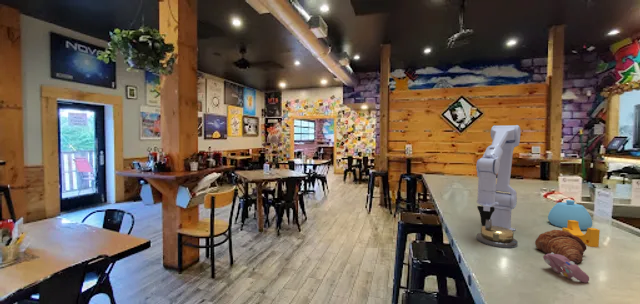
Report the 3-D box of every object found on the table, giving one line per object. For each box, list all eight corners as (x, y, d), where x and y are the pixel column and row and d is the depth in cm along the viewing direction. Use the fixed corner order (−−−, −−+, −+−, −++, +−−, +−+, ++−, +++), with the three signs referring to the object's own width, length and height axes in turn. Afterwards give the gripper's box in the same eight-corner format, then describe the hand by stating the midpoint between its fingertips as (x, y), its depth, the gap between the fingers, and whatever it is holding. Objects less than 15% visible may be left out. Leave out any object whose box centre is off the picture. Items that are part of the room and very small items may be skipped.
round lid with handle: (497, 232, 113) (498, 214, 113) (519, 241, 103) (520, 222, 103) (475, 233, 111) (476, 215, 111) (495, 243, 102) (496, 223, 101)
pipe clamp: (561, 235, 116) (562, 219, 115) (573, 236, 115) (574, 220, 115) (584, 246, 104) (586, 229, 103) (598, 247, 103) (599, 229, 103)
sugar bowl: (587, 224, 131) (588, 199, 130) (596, 233, 118) (598, 206, 117) (545, 219, 139) (546, 195, 138) (549, 227, 126) (551, 201, 125)
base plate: (468, 236, 112) (468, 233, 112) (495, 234, 116) (495, 230, 115) (497, 249, 100) (497, 245, 99) (526, 246, 103) (526, 242, 103)
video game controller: (546, 272, 86) (537, 252, 86) (558, 265, 87) (550, 245, 86) (578, 290, 77) (569, 267, 76) (592, 282, 77) (583, 259, 76)
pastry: (517, 247, 103) (519, 225, 103) (544, 241, 109) (545, 220, 109) (574, 266, 88) (576, 241, 87) (601, 259, 94) (603, 234, 93)
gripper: (500, 194, 99) (498, 233, 100) (497, 187, 112) (496, 222, 113) (477, 192, 103) (475, 229, 104) (477, 186, 115) (475, 219, 116)
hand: (485, 225), depth 109 cm, fingers closed, pressing on round lid with handle
